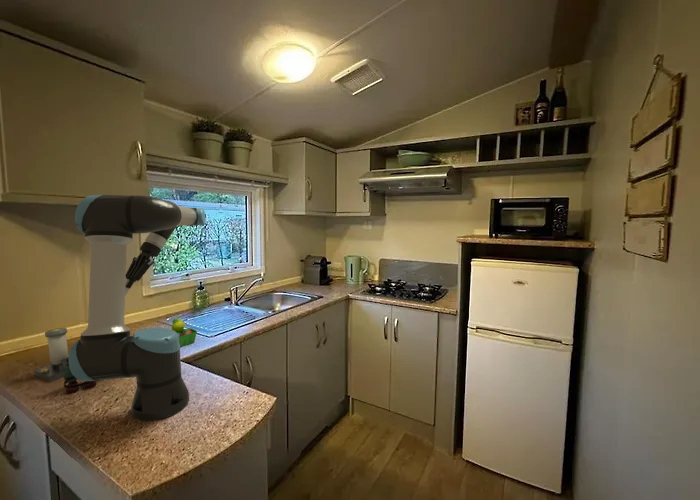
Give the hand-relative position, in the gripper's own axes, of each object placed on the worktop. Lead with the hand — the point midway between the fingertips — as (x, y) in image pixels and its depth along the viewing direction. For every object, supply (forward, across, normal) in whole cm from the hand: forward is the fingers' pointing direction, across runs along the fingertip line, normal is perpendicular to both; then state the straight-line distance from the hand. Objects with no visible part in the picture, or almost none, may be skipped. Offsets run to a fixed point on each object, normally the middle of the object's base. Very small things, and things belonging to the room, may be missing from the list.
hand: (121, 294), depth 133 cm
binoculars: (+33, -16, +1) cm, 36 cm away
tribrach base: (+32, +4, +1) cm, 32 cm away
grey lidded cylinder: (+29, +4, +3) cm, 30 cm away
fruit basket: (+10, -9, -30) cm, 33 cm away
